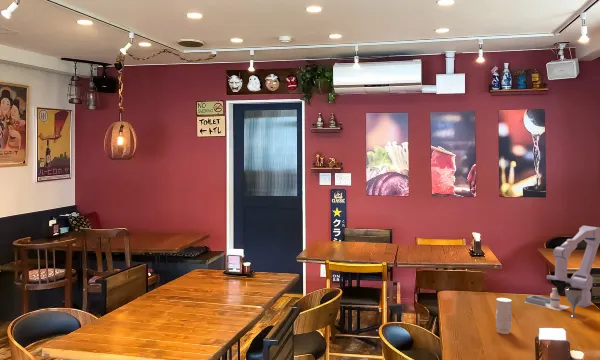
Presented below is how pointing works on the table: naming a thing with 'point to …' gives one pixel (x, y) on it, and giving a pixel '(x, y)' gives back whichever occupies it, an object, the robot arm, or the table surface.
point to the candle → (503, 315)
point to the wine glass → (573, 297)
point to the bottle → (554, 298)
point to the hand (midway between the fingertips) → (560, 294)
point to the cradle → (543, 302)
